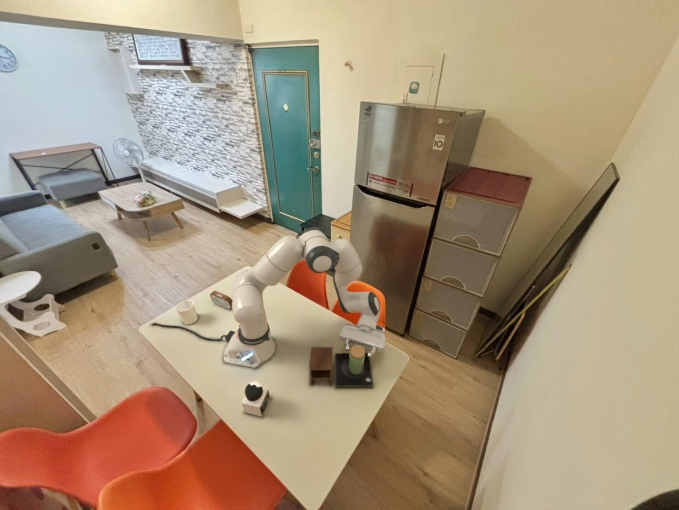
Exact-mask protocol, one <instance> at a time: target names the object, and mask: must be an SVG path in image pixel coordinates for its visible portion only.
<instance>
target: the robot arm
mask: <svg viewBox="0 0 679 510" xmlns="http://www.w3.org/2000/svg"><path fill="white" fill-rule="evenodd" d="M326 235H327V234H326V233H325V232H324V231H323V230H322V229H321V228H319V227H315V226H313V227H312V226H311V227H308V228H306V229H304V230H302V232H299V233H297V234H296V236H294V235H284V236H283V237H282V238H280V239H279V240H278V241H277V242H275V243H274V244H273V245H272V246H271V247H270V248H269V249H268V250H267V251H266V252H265V253H264V255H262V256H261V258H260V259H259V260H258V261H257V263H256V264H254V265H253V266H252V267H250V268H249V269H243V270H240V271H239V272H237V274H236V275H235V278H234V280H233V283H232V297H231V299H232V308H231V310H232V314H233V315H232V316H233V318H234V320H235V321H236V322H237V323H238V327H239V328H238V329H237V331H235V330H230V331H229V332H228V333H227V334H223V335H221V336H220V338H217V339H214V338H209V337H206V336H202V335H200V334H199V333H197V332H196V331H193V330H191V329H189V328H187V327H185V326H180V325H170V324H169V325H167V324H162V323H158V322H154V323H152V324H151V325H152V326H160V327H164V328H177V329H181V330H185V331H187V332H190V333H192V334H194V335H195V336H196V337H199V338H200V339H202V340H207V341H210V342H211V341H213V342H221V341H222V340H223V338H224V340H225V342H226V343H227V344H226V346H225V348H224V350H223V361H224V363H225V364H230V365H235V366H241V367H247V368H251V369H256V368H258V367H259V366H260V365H261V364H262V363H264V362H266V361H268V360H269V359H270V358H271V357H272V356H273V355H274V353H275V351H276V343H275V341H274V340H273V338H272V336H271V335H272V334H271V328H270V325H269V322H268V319H267V312H266V310H265V306H264V297H263V296H264V295H263V293H264V291H265V290H266V288H268V287H275V286H277V285H278V284H279V283H281V282H282V280H283V279H284V278H285V277H286V276H287V275H288V274H289V273H290V272H291V271H292V270H293V268H294V267H295V266H296V265H297V264H299V263H301V262H302V261H305V264H306V267H308V269H309V270H310V271H311V272H313V273H315V274H324V273H328V272H329V271H331V270H333V269H334V270H335V271H334V272H333V275H332V282H333V286H334V289H335V293H336V296H337V300H338V306H339V309H340V310H341V312H343V313H344V314H360V317H359V319H358V321H357V324H356V325H355V324H351V323H344V324H342V328H341V329H340V330H341V331H340V333H339V335H338V337H339V340H340V341H341V342H344V343H345V351H346V352H350V350H351V345H352V346H354V345H360V346H362V347H363V348H364V349H366V350H370V351H368V352H367V353H368V355H367V357H369V359H371V358H372V356H373V355H374V354H375V353H377V352H378V353H380V354H382V353H384V352H385V348H386V341H387V339H386V337H387V336H386V328H384V327H383V326H381V325H379V324H378V322H379V321H380V316H381V304H380V300H379V297H378V296H377V295H376V294H375V292H373V291H348V289H347V286H346V285H348V284H351V283H354V282H355V281H357V280H358V279H359V278H360V276H361V274H362V272H363V263H362V260H361V258H360V255H358V252H357V250H356V248H355V247H354V245H353V244H352V243H351V241H350V240H348V239H347V238H338V239H334V240H333V241H330V240H329V239H328V237H327V236H326ZM349 344H350V345H349Z"/></svg>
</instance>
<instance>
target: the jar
mask: <svg viewBox="0 0 679 510" xmlns="http://www.w3.org/2000/svg"><path fill="white" fill-rule="evenodd" d="M348 353H349V364H348V369H349V371H350V372H351V373H352V374H360V373H361V372H362V371H363V366H364V359H365V353H366V351H365V348H363V347H362V346H360V345H352V346H350V350H349V352H348Z"/></svg>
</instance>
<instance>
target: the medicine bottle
mask: <svg viewBox="0 0 679 510" xmlns="http://www.w3.org/2000/svg"><path fill="white" fill-rule="evenodd" d="M244 394H245V395H244V397H243V399H242V401H241V404H242V407H243V410H244V413H245V414H248V415H249V414H250V415H254V416H258V417H263V416H264V414H265V412H266V410H267V407H268V405H269V403H270V399H271V395H270V392H269V388H268V387H263V385H262V383H261V382H260V381H256V380H254V381H250V382H249V383H248V384H247V385H246V386H245V388H244Z"/></svg>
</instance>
